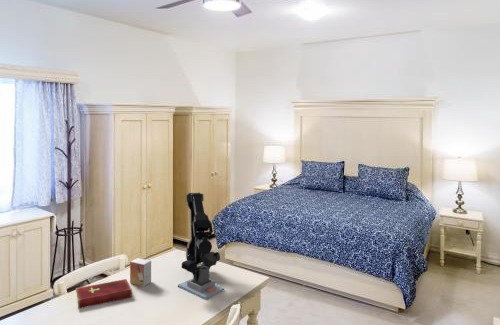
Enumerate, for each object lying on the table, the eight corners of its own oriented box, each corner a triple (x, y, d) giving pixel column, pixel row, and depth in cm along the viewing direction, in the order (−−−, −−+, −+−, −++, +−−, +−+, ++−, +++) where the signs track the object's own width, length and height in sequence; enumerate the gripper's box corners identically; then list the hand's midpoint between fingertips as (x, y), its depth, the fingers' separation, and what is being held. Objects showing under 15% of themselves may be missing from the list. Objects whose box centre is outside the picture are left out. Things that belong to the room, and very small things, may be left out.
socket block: (178, 286, 171) (178, 279, 171) (197, 278, 180) (197, 271, 180) (205, 299, 160) (205, 291, 159) (224, 290, 169) (224, 282, 168)
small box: (129, 283, 173) (129, 261, 172) (137, 278, 179) (137, 257, 177) (144, 286, 170) (143, 264, 169) (151, 281, 176) (151, 260, 174)
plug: (193, 284, 169) (193, 265, 168) (201, 280, 173) (201, 261, 172) (200, 287, 166) (201, 268, 165) (209, 284, 170) (209, 264, 169)
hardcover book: (132, 298, 160) (131, 289, 160) (78, 309, 150) (78, 299, 149) (126, 287, 170) (126, 278, 170) (75, 296, 160) (75, 287, 160)
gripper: (198, 255, 155) (197, 291, 157) (228, 244, 170) (228, 277, 172) (180, 249, 162) (180, 283, 164) (211, 239, 177) (211, 270, 179)
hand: (201, 278), depth 170 cm, fingers closed on plug, 5 cm apart
